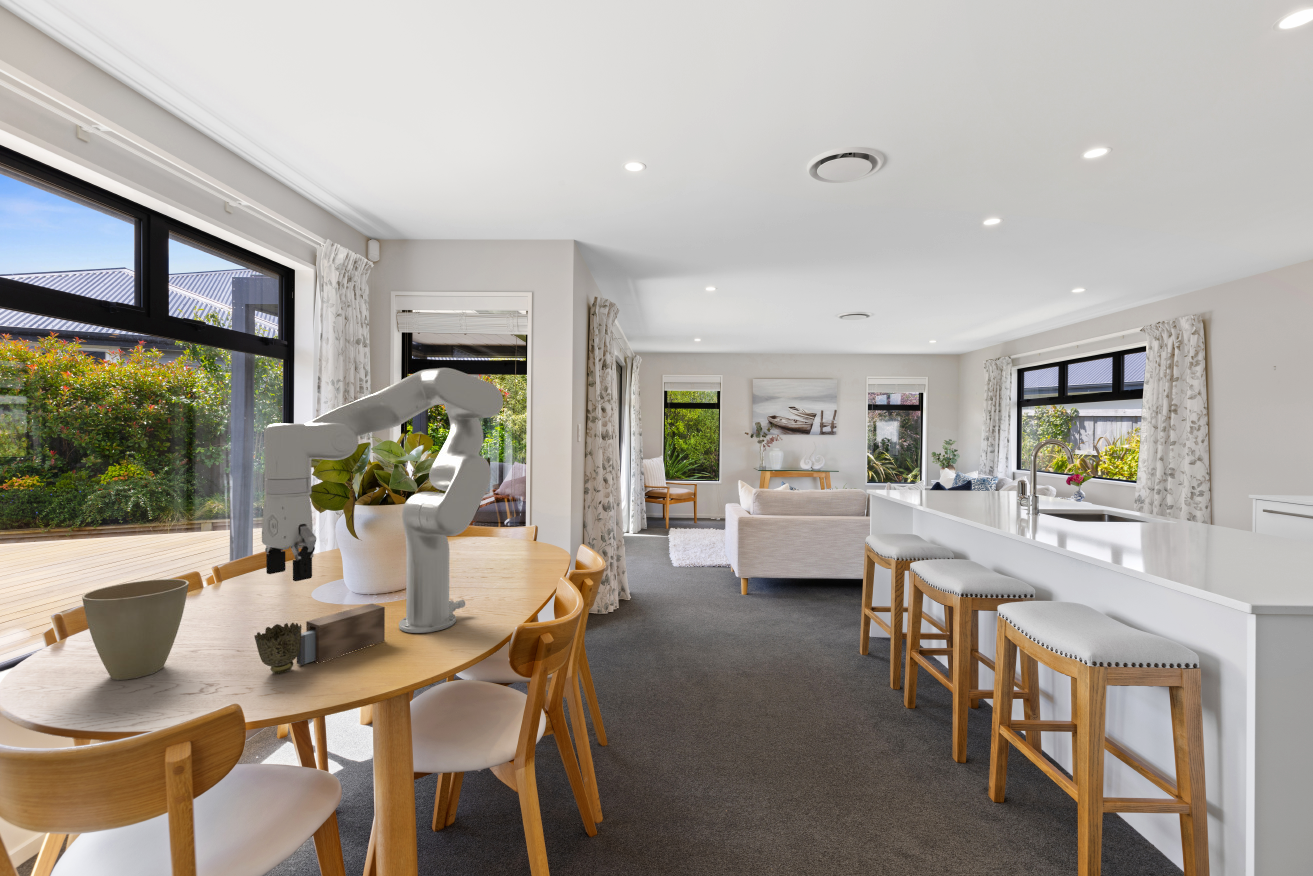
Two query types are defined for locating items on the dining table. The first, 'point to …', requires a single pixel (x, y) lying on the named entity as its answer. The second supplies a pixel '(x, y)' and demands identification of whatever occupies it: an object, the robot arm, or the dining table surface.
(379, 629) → the dark brown rectangular beam
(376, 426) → the robot arm
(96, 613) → the plant pot
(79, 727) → the dining table surface
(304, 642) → the gray rectangular panel
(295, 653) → the cup
